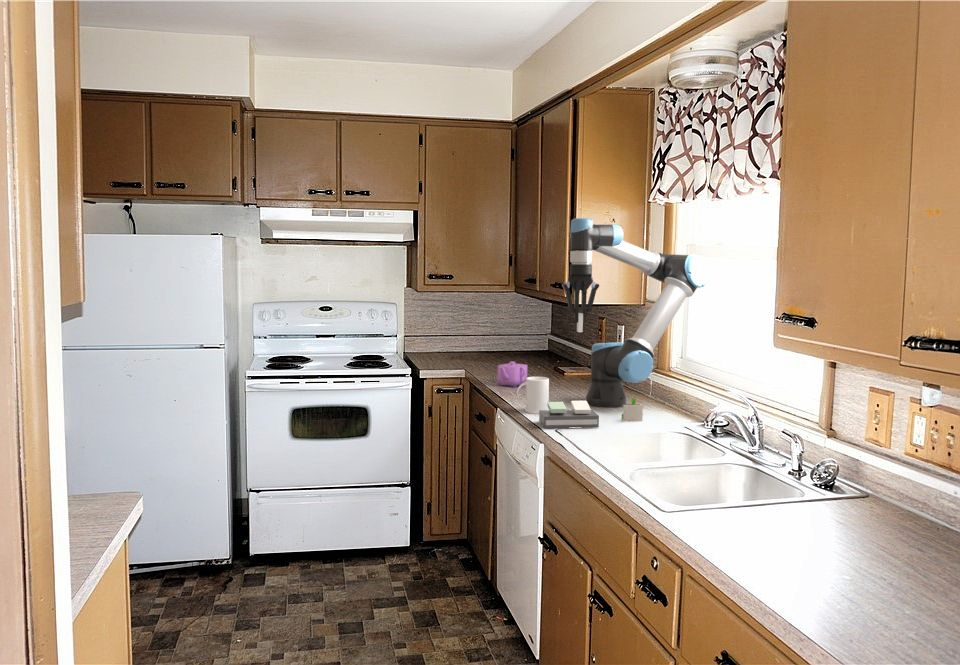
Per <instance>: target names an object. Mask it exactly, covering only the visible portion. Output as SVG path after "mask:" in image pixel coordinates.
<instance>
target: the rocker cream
mask: <svg viewBox="0 0 960 665" xmlns="http://www.w3.org/2000/svg"><path fill="white" fill-rule="evenodd" d="M570 406H571V408H572V410H574V413H575V414H591V410H592V409H591V407H590V404H588V403H587V401H586V400H571V401H570Z"/></svg>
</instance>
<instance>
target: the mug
mask: <svg viewBox="0 0 960 665" xmlns="http://www.w3.org/2000/svg"><path fill="white" fill-rule="evenodd" d="M524 386H525V400H522V399H521V398H520V396H519V391H520V389H521V388H522V387H524ZM549 388H550V379H549V377H545V376H527V378H526V382H524V383H522V384H521V385H518V387H517V390H516V396H517V399H518V401H519V402H520V403H521V404H523V405H525V412H526V413H527V414H534V415H539V410H549V408H548V406H547V402H550V401H549V400H550V399H549V398H550V396H549V394H550V393H549V392H550V391H549V390H550V389H549Z"/></svg>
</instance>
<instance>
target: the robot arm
mask: <svg viewBox="0 0 960 665" xmlns="http://www.w3.org/2000/svg"><path fill="white" fill-rule="evenodd" d="M569 233H570V236H569V238H570V244H569V245H570V246H569V247H570V248H569V249H570V250H569V251H570V252H569V253H570V256H569V262H570V263H571V264H570V265H569V277H568V281H566V282H564V283H562V284H561V287H562V288H563V290H564V293H565V298H566V302H567V307H568V311H570V312H573V317H574V318H573V321H574V323H576V333H577V332H578V333H583V332H584V330H583V329H584V326H583V324H584V323H586V322H587V320H586V318H587V313H588V312H591V311H592V308H593V304H594V301H595V296H596V295H597V294H596V293H597V291H598V289H599V287H600V284H599V283H596V282H595V281H594V279H593V276H592V274H593V265H592V264H591V263H592V262H593V251H594V252H597V253H600V254H602V255H604V256H607V257H609V258H612V259H614V260H617V261H619V262H621V263H624V264H626V265H628V266H630V267H634V268H635V269H638V270H640V271H641V272H642V273H643V274H644V275H646V276H648V277H650V278H652V279H654V280H657V281H659V282H661V283H664V284H665V285H664V287H663V289H662V290H661V292H660V293H659V295H658V297H657V298H656V300H655V301H654V303H653V304H652V306H651V308H650V310H649V311H648V312H647V314H646V315H645V317H644V319H643V320H642V322H641V323H640V325H639V327H638V328H637V329H636V331H635V333H634V335H633V336H632V337H630V338H629V337H628V338H626V339H625V341H624V343H623V342H621V341H620V342H619V341H617V342H614V341H613V342H599V343H597V342H596V343H594V344H593V345H592V346H591V352H590V355H591V356H590V357H591V359H590V360H591V362H590V371H591V372H590V385H589V387H588V390H587V392H586V396H585V401H587V403H588V405H589V406H595V407H603V408H604V407H606V408H608V407H609V408H612V407H614V408H615V407H617V408H618V407H623V406H622V404H627V396H626V392H625V388H624V385H623V381H624V382H626V383H634V384H635V383H642V382H643V381H645V380H647V379H648V378H649V377H650V375H652V373H653V370H654V357H655V353H654V349H655V347H656V346H657V345H658V343H659V341H660V340H661V338H662V336H663V335H664V333H666V331H667V329H668V327H669V325H670V324H671V323H672V320H673V319H674V317H675V316H676V314H677V313H678V311H679V309H680V308H681V306H682V305H683V303H684V301H685V300H686V298H690V297H692V296H693V295H694V293H695V292H696V291H697V289H698V288H699V289H701V288H703V287H705V286H706V285H707V284H708V283H709V282H710V279H709V266H710V264H708V263H709V262H708V260H707V258H705V257H703V256H702V255H696V254H671V253H669V254H668V253H663V252H662V253H661V252H658V251H656V250H652V251H649V250H646V249H644V248H642V247H640V246H637V245H635V244H633V243H630V242H628V241H626V240H624V231H623V227H621V226H620V225H619V224H594V220H593V218H588V217H587V218H584V217H578V218H576V217H575V218H573V219H571V222H570V230H569ZM570 287H571V288H572V289H573V294H574V295H573V296H574V297H573V300H572V295H571V291H570ZM589 288H591V289H590V294H589V298H588V301H587V297H588V296H587V293H588V289H589ZM580 291H581V292H580ZM580 294H581V304H580ZM580 305H581V306H580ZM580 307H581V311H580Z"/></svg>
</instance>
